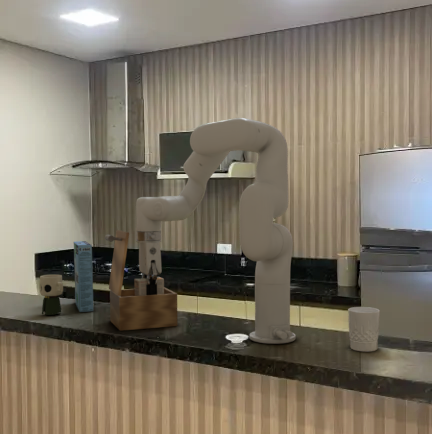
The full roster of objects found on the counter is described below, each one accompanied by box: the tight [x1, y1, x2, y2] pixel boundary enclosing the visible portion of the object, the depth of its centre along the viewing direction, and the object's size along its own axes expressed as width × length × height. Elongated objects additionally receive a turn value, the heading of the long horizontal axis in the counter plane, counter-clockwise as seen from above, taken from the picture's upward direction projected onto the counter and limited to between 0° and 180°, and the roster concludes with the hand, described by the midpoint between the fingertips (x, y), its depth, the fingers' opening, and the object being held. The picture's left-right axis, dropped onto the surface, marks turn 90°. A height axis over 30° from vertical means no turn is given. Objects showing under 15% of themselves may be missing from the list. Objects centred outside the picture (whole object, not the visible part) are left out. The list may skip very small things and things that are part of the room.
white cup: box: [347, 306, 381, 353], centre depth 153 cm, size 8×8×10 cm
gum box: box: [73, 240, 94, 313], centre depth 212 cm, size 19×5×23 cm, turn 17°
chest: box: [109, 286, 178, 332], centre depth 184 cm, size 18×15×10 cm
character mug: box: [39, 274, 64, 316], centre depth 199 cm, size 11×7×13 cm, turn 56°
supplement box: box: [134, 276, 165, 296], centre depth 185 cm, size 8×5×13 cm, turn 115°
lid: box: [104, 229, 130, 296], centre depth 180 cm, size 19×15×5 cm
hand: (149, 295), depth 185 cm, fingers closed on supplement box, 5 cm apart
